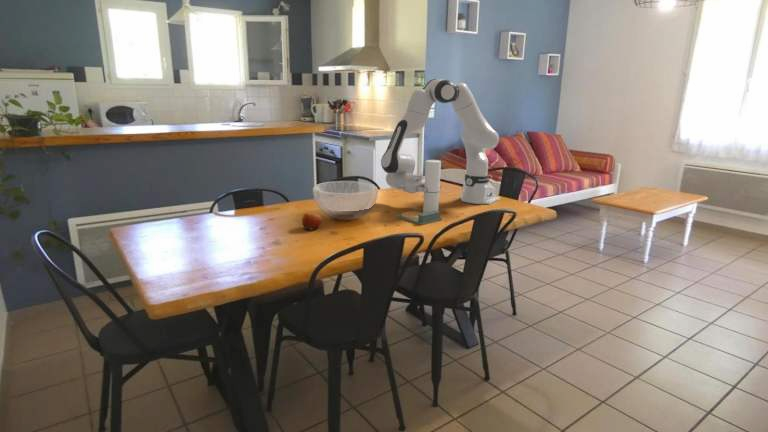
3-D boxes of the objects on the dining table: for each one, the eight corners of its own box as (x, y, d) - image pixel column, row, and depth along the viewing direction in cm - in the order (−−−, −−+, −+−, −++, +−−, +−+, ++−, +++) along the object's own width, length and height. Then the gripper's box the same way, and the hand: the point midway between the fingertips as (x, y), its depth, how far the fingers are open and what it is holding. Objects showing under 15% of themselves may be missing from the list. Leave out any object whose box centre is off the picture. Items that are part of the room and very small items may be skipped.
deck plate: (415, 212, 220) (415, 204, 219) (441, 220, 208) (441, 211, 207) (395, 216, 212) (395, 208, 210) (421, 225, 200) (421, 216, 199)
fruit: (296, 228, 187) (300, 209, 189) (304, 232, 194) (309, 214, 196) (313, 230, 184) (318, 211, 186) (321, 235, 192) (326, 217, 194)
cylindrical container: (437, 211, 222) (440, 160, 216) (438, 215, 216) (441, 162, 209) (423, 210, 223) (425, 159, 216) (422, 214, 216) (425, 161, 209)
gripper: (397, 180, 218) (418, 184, 208) (426, 175, 231) (447, 179, 221) (396, 193, 219) (417, 198, 210) (425, 187, 233) (446, 192, 223)
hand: (433, 188), depth 215 cm, fingers open, 8 cm apart
